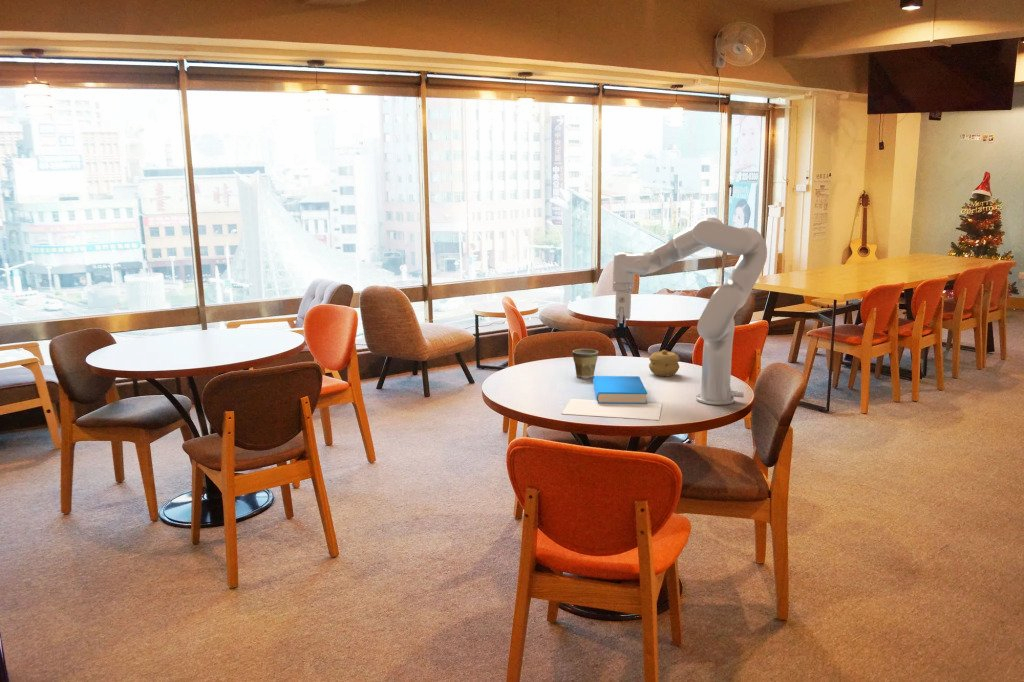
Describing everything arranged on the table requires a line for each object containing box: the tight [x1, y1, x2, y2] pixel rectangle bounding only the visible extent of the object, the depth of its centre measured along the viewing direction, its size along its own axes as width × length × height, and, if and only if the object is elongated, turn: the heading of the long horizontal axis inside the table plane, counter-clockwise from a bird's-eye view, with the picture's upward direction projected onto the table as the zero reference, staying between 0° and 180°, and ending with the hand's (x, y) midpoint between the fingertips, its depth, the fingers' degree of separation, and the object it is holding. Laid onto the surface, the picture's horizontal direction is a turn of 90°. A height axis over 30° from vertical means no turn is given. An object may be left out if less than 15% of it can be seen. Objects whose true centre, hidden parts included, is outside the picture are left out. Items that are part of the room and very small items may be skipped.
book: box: [592, 375, 648, 404], centre depth 281 cm, size 17×4×25 cm
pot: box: [648, 349, 680, 377], centre depth 311 cm, size 12×12×10 cm
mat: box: [561, 398, 663, 421], centre depth 263 cm, size 31×19×1 cm, turn 77°
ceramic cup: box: [572, 348, 599, 379], centre depth 310 cm, size 13×10×10 cm
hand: (621, 337), depth 287 cm, fingers closed
